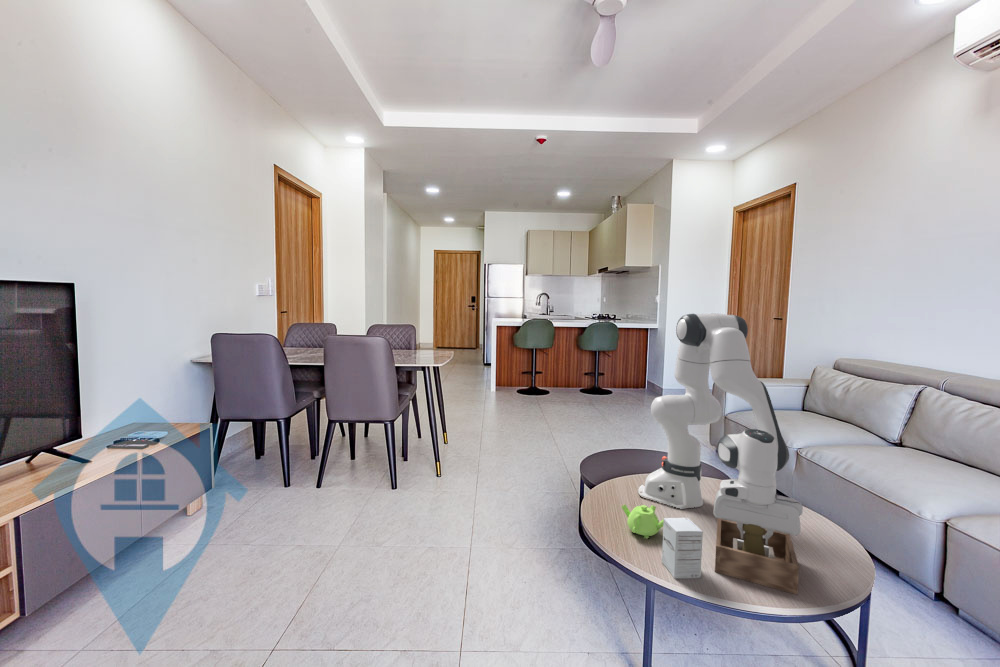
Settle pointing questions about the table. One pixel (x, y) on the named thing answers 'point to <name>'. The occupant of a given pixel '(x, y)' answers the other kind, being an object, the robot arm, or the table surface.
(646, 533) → the teapot
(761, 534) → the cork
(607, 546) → the table surface
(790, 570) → the walled box
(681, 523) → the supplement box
